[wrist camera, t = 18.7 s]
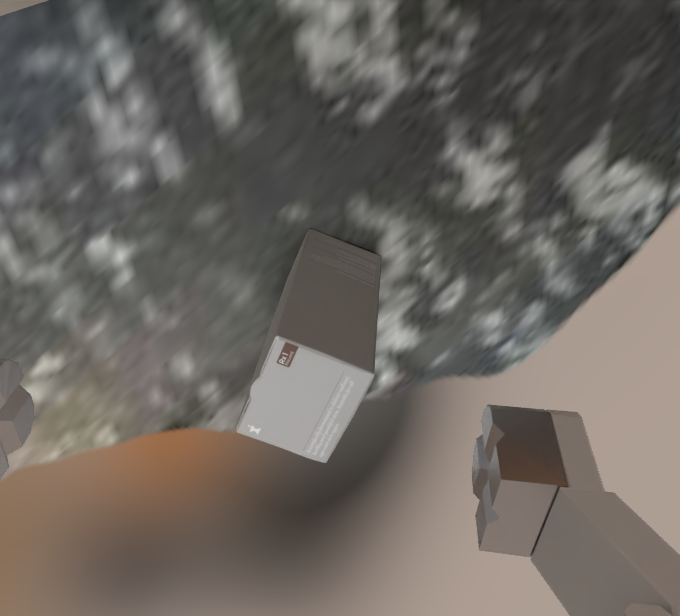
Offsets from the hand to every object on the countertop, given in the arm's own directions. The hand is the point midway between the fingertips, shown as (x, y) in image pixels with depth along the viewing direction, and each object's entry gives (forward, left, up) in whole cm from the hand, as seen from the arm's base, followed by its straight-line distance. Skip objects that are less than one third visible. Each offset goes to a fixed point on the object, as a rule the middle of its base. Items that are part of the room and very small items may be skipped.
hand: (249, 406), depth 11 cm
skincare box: (+6, +17, -36) cm, 40 cm away
